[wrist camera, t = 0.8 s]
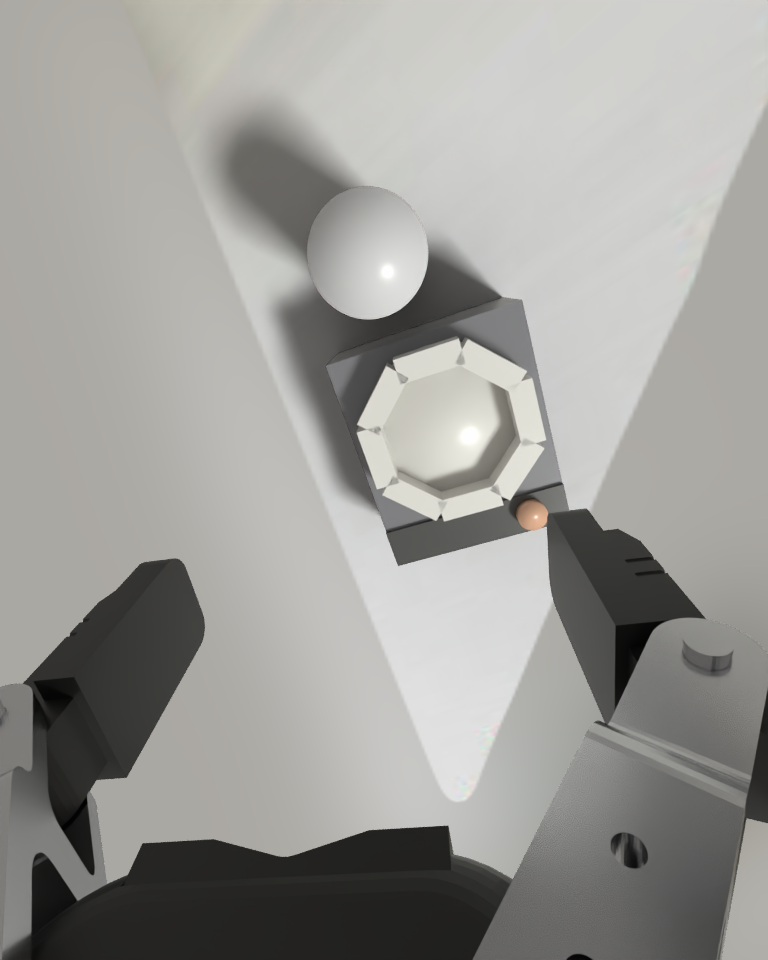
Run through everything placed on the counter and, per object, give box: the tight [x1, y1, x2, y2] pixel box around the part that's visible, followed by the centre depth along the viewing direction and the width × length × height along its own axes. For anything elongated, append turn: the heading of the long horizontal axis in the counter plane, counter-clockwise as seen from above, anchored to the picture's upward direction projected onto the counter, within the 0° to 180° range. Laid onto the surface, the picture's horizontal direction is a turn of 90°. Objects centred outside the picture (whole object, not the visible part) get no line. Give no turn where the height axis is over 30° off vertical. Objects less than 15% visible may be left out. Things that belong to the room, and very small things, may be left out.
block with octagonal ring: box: [326, 297, 569, 566], centre depth 28 cm, size 12×10×6 cm
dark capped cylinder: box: [307, 186, 428, 319], centre depth 24 cm, size 5×5×8 cm
